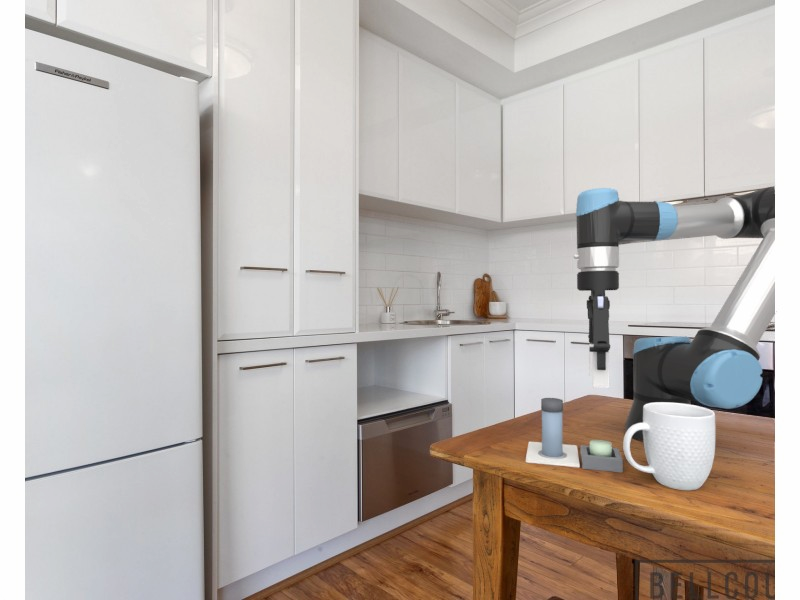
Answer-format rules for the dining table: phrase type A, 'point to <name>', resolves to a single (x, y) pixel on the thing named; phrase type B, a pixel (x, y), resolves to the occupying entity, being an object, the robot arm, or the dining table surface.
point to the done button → (600, 448)
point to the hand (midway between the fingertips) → (598, 381)
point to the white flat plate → (566, 459)
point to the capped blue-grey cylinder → (552, 427)
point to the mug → (675, 443)
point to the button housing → (601, 460)
